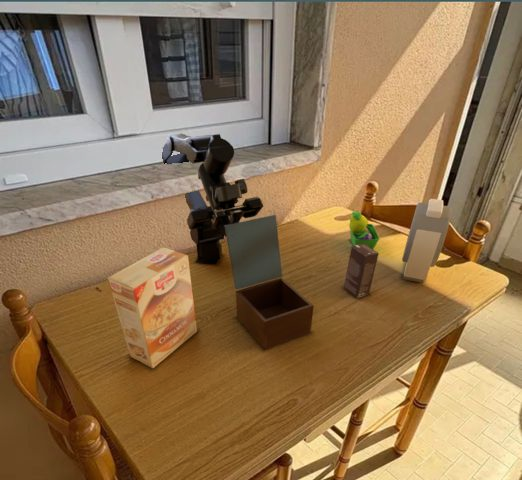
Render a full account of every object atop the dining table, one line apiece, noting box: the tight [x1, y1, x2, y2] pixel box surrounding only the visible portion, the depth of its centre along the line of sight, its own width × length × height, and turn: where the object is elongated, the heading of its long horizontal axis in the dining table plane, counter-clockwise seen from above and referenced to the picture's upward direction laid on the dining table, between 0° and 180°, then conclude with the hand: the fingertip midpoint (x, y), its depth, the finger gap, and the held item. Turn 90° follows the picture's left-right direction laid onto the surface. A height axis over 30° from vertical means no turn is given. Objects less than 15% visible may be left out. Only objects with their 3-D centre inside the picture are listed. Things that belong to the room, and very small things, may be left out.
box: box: [343, 244, 380, 299], centre depth 98 cm, size 6×4×12 cm
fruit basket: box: [348, 211, 380, 250], centre depth 118 cm, size 11×9×11 cm
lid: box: [225, 214, 283, 291], centre depth 86 cm, size 14×12×1 cm
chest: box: [235, 277, 315, 350], centre depth 88 cm, size 13×12×8 cm
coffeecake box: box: [107, 246, 198, 369], centre depth 78 cm, size 15×7×20 cm, turn 148°
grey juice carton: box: [401, 198, 453, 284], centre depth 103 cm, size 18×8×20 cm, turn 158°
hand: (237, 245), depth 94 cm, fingers closed
